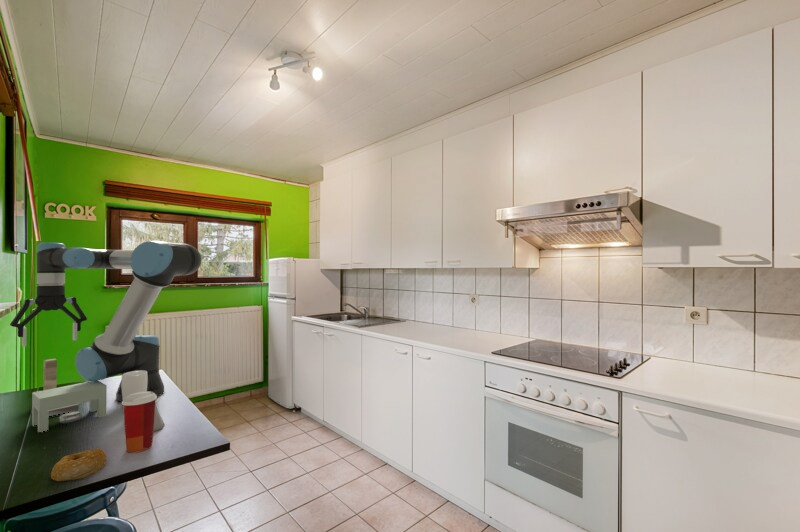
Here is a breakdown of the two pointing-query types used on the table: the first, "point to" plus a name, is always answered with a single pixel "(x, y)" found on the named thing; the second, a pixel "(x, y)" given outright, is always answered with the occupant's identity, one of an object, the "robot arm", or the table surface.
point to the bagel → (78, 465)
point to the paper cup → (139, 420)
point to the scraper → (54, 385)
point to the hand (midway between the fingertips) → (50, 343)
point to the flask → (157, 419)
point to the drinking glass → (134, 383)
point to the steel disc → (70, 417)
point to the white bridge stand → (67, 400)
